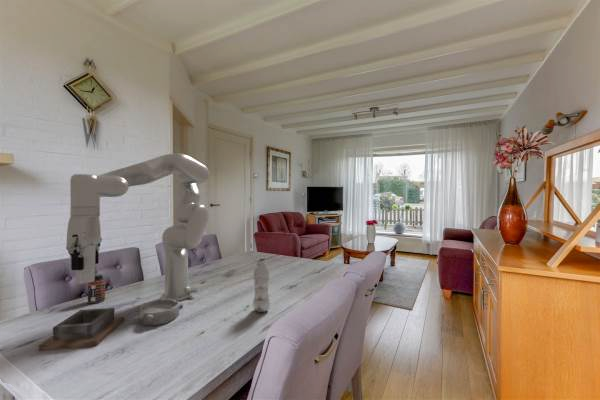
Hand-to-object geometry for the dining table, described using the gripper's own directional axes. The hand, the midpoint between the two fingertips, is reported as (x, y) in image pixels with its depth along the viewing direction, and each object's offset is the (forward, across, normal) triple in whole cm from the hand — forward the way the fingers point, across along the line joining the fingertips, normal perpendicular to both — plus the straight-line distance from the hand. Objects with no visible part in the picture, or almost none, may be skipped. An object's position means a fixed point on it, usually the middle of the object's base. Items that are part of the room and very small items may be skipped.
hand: (85, 266), depth 88 cm
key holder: (+22, +1, +1) cm, 22 cm away
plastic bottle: (+22, -9, +57) cm, 62 cm away
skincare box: (+5, 0, 0) cm, 5 cm away
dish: (+22, -8, +20) cm, 31 cm away
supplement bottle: (+22, -29, -12) cm, 38 cm away
